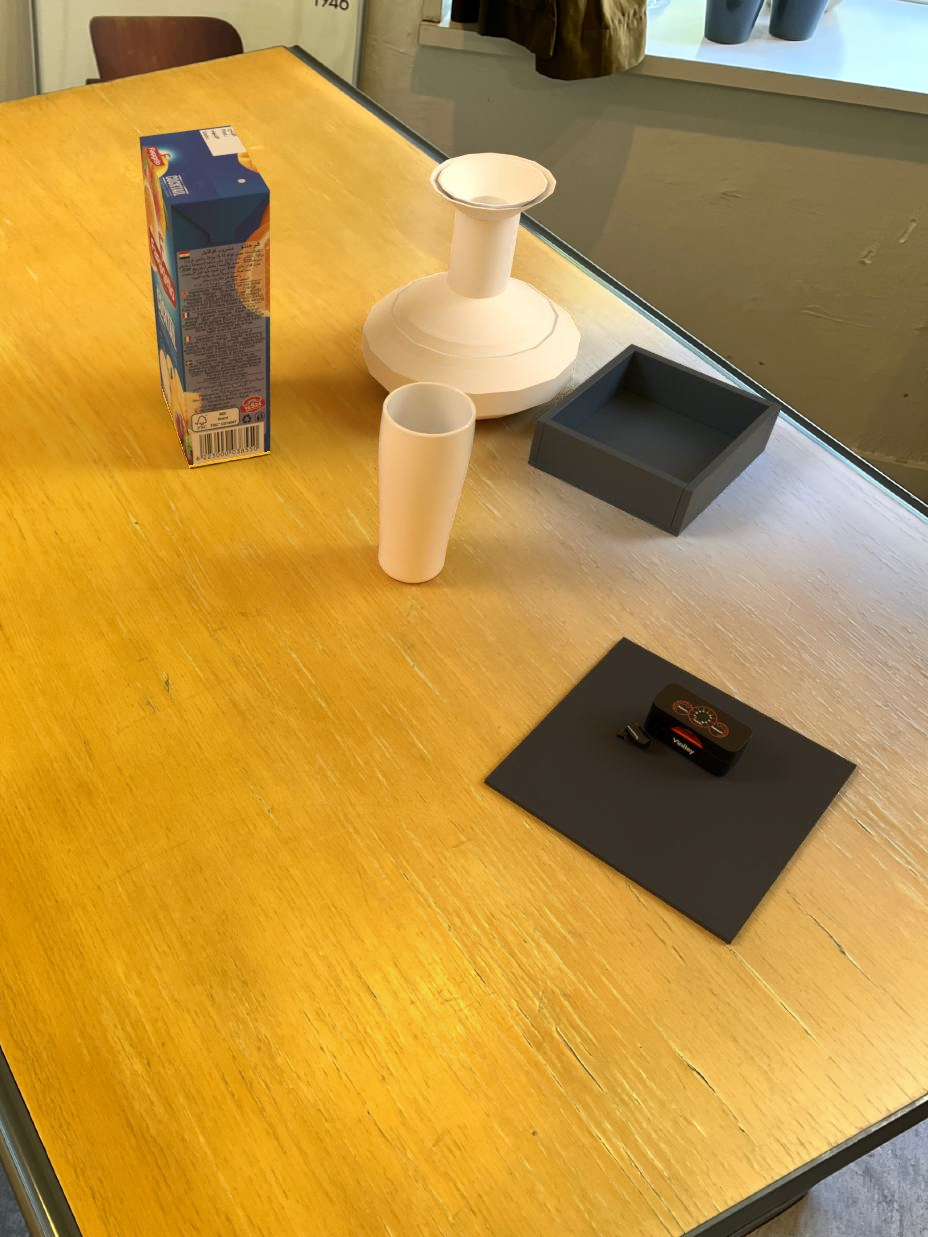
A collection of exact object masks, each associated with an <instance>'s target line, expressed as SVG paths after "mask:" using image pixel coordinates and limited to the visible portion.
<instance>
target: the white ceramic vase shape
mask: <svg viewBox="0 0 928 1237" xmlns="http://www.w3.org/2000/svg"><path fill="white" fill-rule="evenodd" d="M429 181H430V183H431V185H432V187H433V189H434V191H435V192H437V193H438V194H439V196H441V197H442V198H444V199H445V200H446V201H447V202H448V203H450V204H451V205H452V206H453V207H454V208H455V212H454V221H453V227H452V228H453V229H452V236H451V244H450V253H449V262H448V269H447V270H446V271H443V272H442V271H441V272H437V273H434V274H430V275H427V276H424V277H420V278H417V279H413V280H412V281H410V282H408V283H406V284H404V285H401V286H399V287H397V288H395V289H393V290H392V291H390V292H389V293H388V294H387V295H385V296H384V297H382V298H381V299H380V300H379V301H377V302H376V303H374V304H373V305H372V307H371V309H370V311H369V313H368V316H367V317H366V319H365V322H364V324H363V326H362V334H361V353H362V356H363V358H364V362H365V365H366V367H367V371H368V373H369V374H370V375H371V376H372V377H373V378H374V379H375V380H376V381H377V382H378V383H379V384H380V385H381V386H382V387H383V389H385V390H386V391H387V392H388V393H389V394H390V393H391V392H392V391H394V390H395V389H397V388H399V387H401V386H404V385H407V384H412V383H418V382H434V383H441V384H445V385H449V386H452V387H454V388H456V389H459V390H460V391H462V392H464V393H465V394H466V395H467V396H469V398H470V399H471V400H472V401H473V403H474V405H475V407H476V420H477V421H478V420H490V419H499V418H503V417H506V416H509V415H513V414H516V413H519V412H522V411H525V410H528V409H531V408H534V407H538V406H540V405H542V404H546V403H548V402H551V401H552V400H553V399H555V397H556V396H557V395H558V394H559V393H560V392H561V391H562V390H563V389H564V388H565V387H566V386H567V385H569V383H570V382H571V381H572V377H573V372H574V368H575V364H576V360H577V356H578V351H579V347H580V342H581V337H582V335H581V334H582V333H580V331H579V329H578V327H577V326H576V323H575V322H574V321H573V319H572V317H571V315H570V313H569V312H567V311H566V310H565V309H564V308H562V307H561V306H560V305H559V304H557V303H556V302H554V301H553V300H552V299H550V297H548V296H547V295H545V294H544V293H543V292H541V291H540V290H539V289H537V288H536V287H535V286H533V285H532V284H530V283H528V282H525V281H523V280H521V279H519V278H515V277H512V276H511V274H512V268H513V262H514V255H515V249H516V245H517V244H516V243H517V238H518V231H519V225H520V221H521V213H523V212H524V211H527V210H528V209H531V208H532V207H534V206H536V205H538V204H540V203H541V202H543V201H544V200H545V199H547V198H548V197H549V196H551V195H552V194H553V193H554V191H555V188H556V184H557V180H556V178H555V177H554V175H553V174H552V172H551V171H550V170H549V169H548V168H546V167H544V166H543V165H541V164H539V163H538V162H536V161H535V160H531V159H528V158H524V157H521V156H517V155H515V154H505V153H497V152H481V153H480V152H479V153H469V154H463V155H461V156H455V157H453V158H448V159H446V160H445V161H442V163H440V164H439V165H437V166H436V167H435V168H433V171H432V173H431V174H430V177H429Z"/></svg>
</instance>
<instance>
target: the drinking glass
mask: <svg viewBox="0 0 928 1237" xmlns="http://www.w3.org/2000/svg"><path fill="white" fill-rule="evenodd" d="M475 430H476V407H475V405H474V403H473V401H472V400H471V399H470V398H469V396H467V395H466V394H465V393H464V392H462V391H460V390H459V389H456V388H454V387H452V386H449V385H445V384H441V383H434V382H418V383H412V384H407V385H404V386H401V387H399V388H397V389H395V390H394V391H392V392H391V393H390V392H389V393H388V395H387V396H386V398H385V399H384V401H383V404H382V410H381V418H380V425H379V432H378V446H377V447H378V448H377V478H378V483H377V484H378V485H377V486H378V539H379V540H378V549H377V559H378V564H379V566H380V568H381V569H382V571H383V572H384V573H385V574H386V575H387V576H389V577H390V578H392V579H394V580H395V581H398V582H402V583H405V584H406V583H407V584H419V583H425V582H428V581H431V580H432V579H434V578H435V577H437V576H438V575H439V574H440V573H441V571H442V570H443V568H444V565H445V562H446V557H447V556H446V555H447V550H448V545H449V542H450V537H451V533H452V530H453V526H454V521H455V518H456V514H457V510H458V508H459V507H458V506H459V503H460V499H461V496H462V492H463V489H464V486H465V485H464V484H465V481H466V477H467V474H468V469H469V465H470V461H471V458H472V451H473V445H474V439H475Z"/></svg>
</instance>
